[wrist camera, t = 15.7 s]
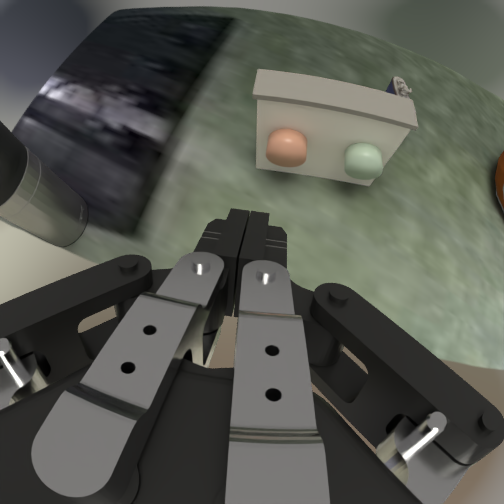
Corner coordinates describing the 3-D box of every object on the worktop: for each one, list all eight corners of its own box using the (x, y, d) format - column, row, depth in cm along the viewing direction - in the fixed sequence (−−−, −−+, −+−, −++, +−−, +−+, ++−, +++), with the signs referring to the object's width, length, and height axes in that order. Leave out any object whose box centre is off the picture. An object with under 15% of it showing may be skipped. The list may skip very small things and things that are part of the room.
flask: (398, 145, 48) (423, 109, 37) (383, 144, 48) (407, 106, 37) (386, 106, 50) (406, 69, 40) (372, 105, 50) (391, 66, 40)
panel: (252, 169, 46) (252, 94, 30) (256, 145, 47) (257, 68, 31) (371, 188, 45) (418, 126, 29) (371, 164, 46) (412, 100, 30)
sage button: (340, 175, 39) (350, 156, 34) (340, 126, 41) (348, 104, 36) (374, 182, 39) (388, 164, 34) (372, 133, 41) (383, 113, 36)
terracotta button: (264, 164, 39) (266, 142, 34) (271, 115, 41) (274, 92, 36) (303, 169, 39) (309, 149, 34) (306, 120, 41) (311, 97, 36)
